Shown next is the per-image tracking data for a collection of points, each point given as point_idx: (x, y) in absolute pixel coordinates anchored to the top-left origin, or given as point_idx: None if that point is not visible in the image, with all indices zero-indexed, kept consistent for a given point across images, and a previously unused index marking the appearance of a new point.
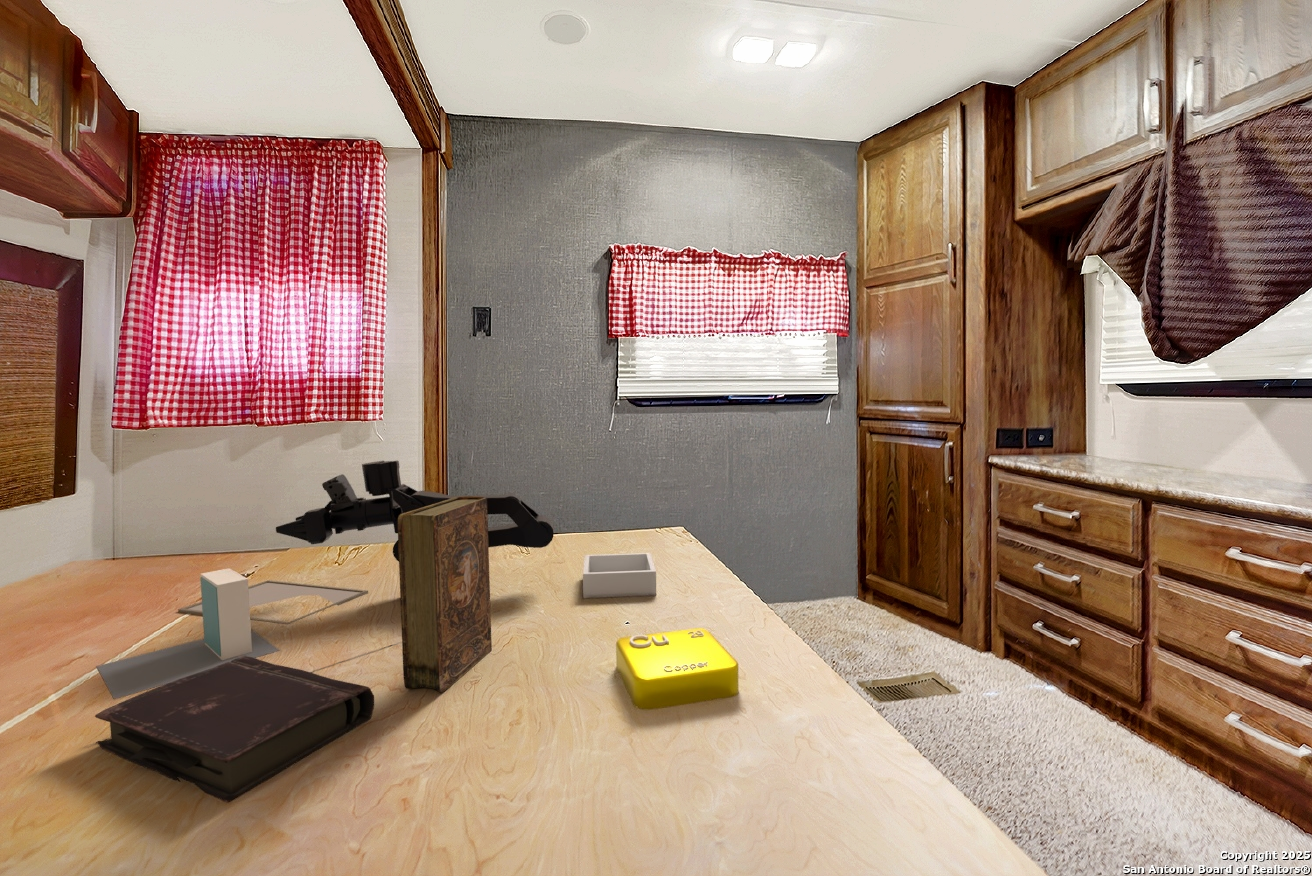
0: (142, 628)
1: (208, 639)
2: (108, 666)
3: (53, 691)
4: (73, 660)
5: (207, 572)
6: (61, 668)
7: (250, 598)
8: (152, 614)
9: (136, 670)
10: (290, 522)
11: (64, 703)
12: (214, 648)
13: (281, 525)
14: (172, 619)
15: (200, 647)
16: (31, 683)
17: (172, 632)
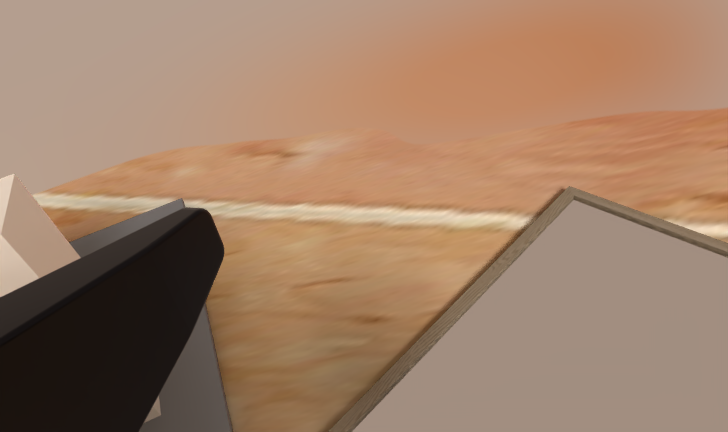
0: (436, 174)
1: None
2: (160, 216)
3: (115, 191)
4: (273, 153)
5: (9, 186)
6: (237, 155)
7: (670, 359)
8: (566, 150)
9: None
10: (51, 296)
11: None
12: None
13: (122, 237)
14: (491, 205)
15: None
16: (188, 151)
17: (356, 243)
